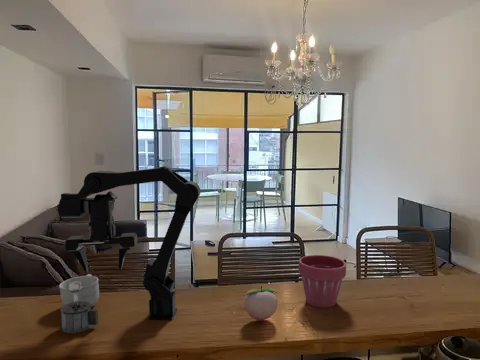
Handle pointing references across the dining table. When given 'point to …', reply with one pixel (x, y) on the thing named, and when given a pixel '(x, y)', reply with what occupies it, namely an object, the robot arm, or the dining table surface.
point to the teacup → (86, 294)
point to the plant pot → (322, 279)
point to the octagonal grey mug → (78, 317)
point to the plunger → (75, 291)
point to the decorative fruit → (260, 303)
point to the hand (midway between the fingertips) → (103, 271)
